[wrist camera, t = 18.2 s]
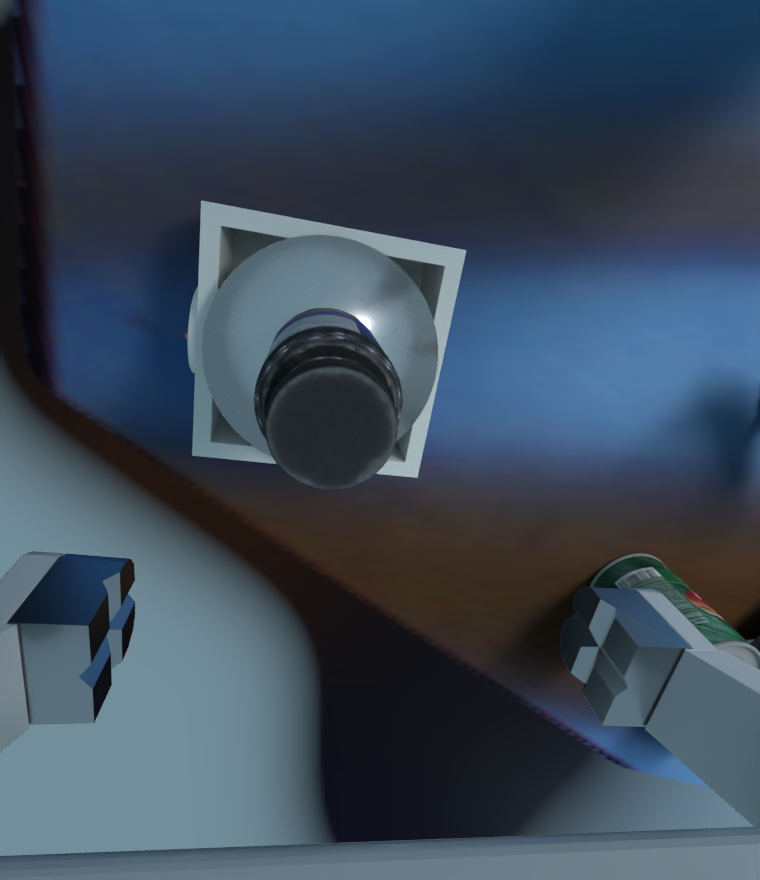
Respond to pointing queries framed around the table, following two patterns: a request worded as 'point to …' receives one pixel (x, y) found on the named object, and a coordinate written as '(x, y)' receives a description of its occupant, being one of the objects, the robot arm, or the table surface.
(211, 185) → the table surface
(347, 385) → the pill bottle
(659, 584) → the canned tomato
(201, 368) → the scale housing
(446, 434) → the table surface
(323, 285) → the scale pan
